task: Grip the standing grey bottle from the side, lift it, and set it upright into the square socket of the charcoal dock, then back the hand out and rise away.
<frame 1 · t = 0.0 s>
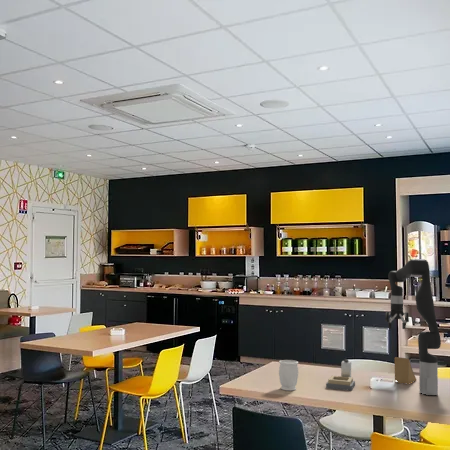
hand: (396, 328, 336), 29 cm above the table, tool pointing down, fingers open, 8 cm apart
grey bottle: (346, 382, 312), on the table
jar: (288, 389, 293), on the table
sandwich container: (406, 381, 320), on the table
charcoal dock: (340, 386, 302), on the table
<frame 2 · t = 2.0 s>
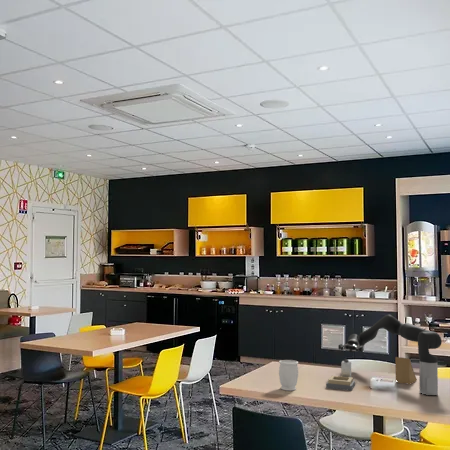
hand: (349, 349, 324), 18 cm above the table, tool horizontal, fingers open, 8 cm apart
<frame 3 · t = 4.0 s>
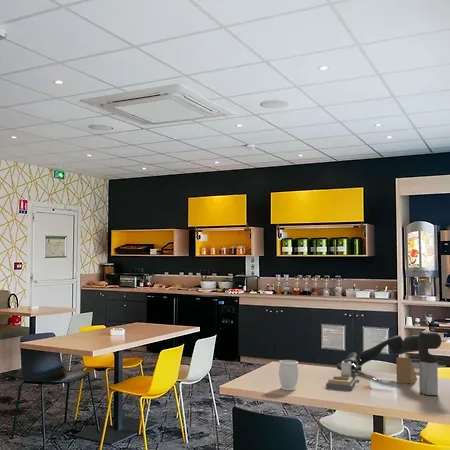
hand: (347, 369, 319), 7 cm above the table, tool horizontal, fingers open, 8 cm apart
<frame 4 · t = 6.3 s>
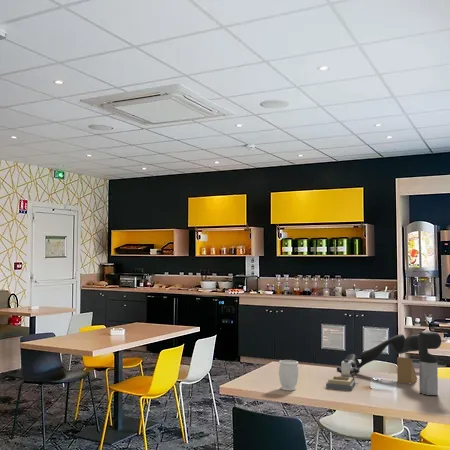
hand: (345, 372, 310), 7 cm above the table, tool horizontal, fingers closed on grey bottle, 5 cm apart
grey bottle: (346, 382, 312), on the table, touching gripper
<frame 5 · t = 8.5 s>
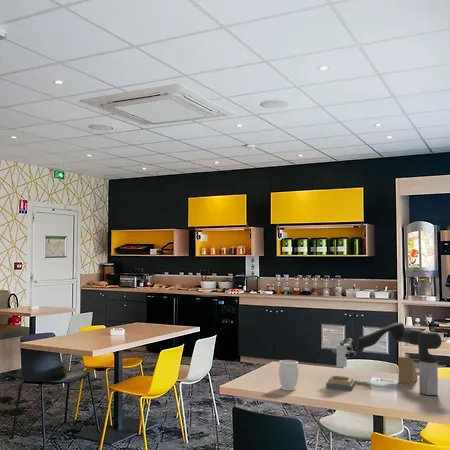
hand: (341, 355, 302), 18 cm above the table, tool horizontal, fingers closed on grey bottle, 5 cm apart
grey bottle: (341, 366, 305), point 11 cm above the table, touching gripper
when the fingers open (10 cm above the table, at t = 10.9 s): grey bottle drops 1 cm, resting on charcoal dock.
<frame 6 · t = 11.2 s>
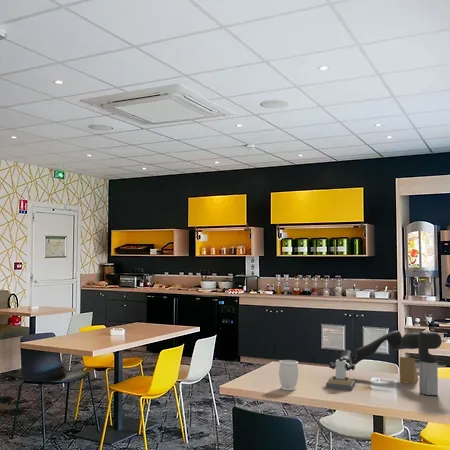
hand: (340, 368, 301), 11 cm above the table, tool horizontal, fingers open, 7 cm apart
grey bottle: (340, 382, 302), point 3 cm above the table, touching charcoal dock
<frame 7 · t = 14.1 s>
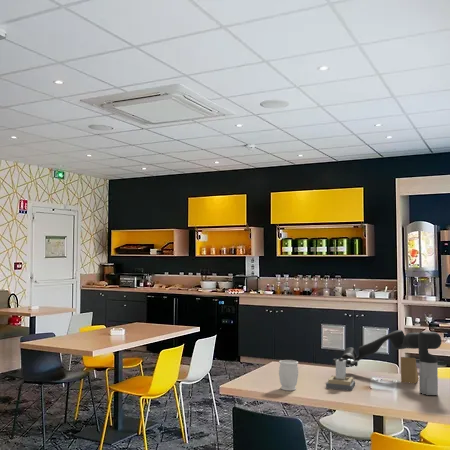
hand: (343, 364, 313), 11 cm above the table, tool horizontal, fingers open, 8 cm apart
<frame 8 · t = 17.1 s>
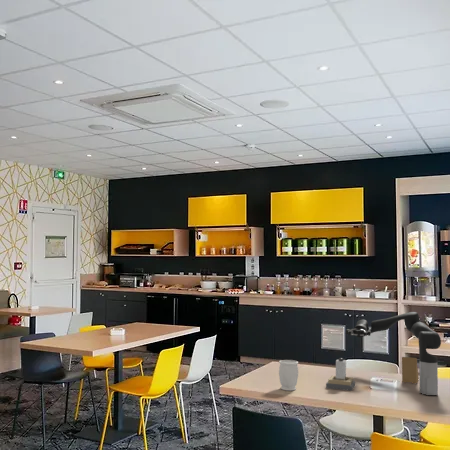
hand: (357, 333, 318), 28 cm above the table, tool horizontal, fingers open, 8 cm apart
at the end: grey bottle 0.0 cm off-centre on the charcoal dock, point 2.5 cm above the charcoal dock's base; grey bottle tilted 0°; the gripper is holding nothing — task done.
